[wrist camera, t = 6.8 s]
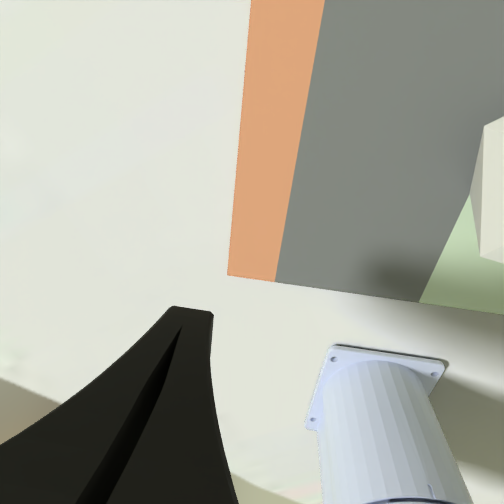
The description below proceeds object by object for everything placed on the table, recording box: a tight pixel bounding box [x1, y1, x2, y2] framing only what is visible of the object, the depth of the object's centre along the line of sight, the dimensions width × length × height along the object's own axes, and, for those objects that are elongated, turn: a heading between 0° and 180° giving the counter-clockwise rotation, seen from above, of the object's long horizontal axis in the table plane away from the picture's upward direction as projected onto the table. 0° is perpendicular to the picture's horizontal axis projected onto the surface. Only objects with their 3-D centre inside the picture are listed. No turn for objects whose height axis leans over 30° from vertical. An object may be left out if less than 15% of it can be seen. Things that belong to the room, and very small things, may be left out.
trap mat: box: [227, 0, 504, 315], centre depth 16 cm, size 16×25×1 cm, turn 84°
